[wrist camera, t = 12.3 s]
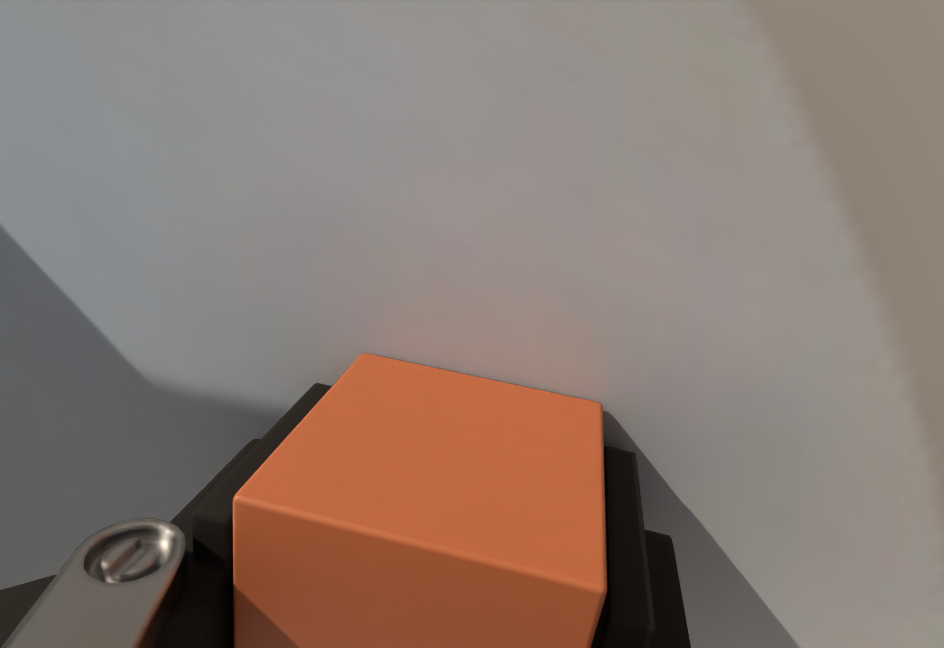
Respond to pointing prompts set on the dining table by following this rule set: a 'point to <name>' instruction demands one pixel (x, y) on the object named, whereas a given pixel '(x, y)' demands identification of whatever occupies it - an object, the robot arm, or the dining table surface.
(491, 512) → the block
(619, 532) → the robot arm
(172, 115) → the dining table surface
